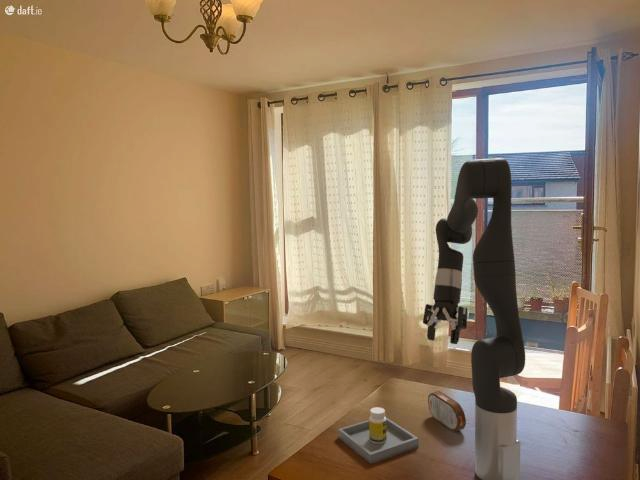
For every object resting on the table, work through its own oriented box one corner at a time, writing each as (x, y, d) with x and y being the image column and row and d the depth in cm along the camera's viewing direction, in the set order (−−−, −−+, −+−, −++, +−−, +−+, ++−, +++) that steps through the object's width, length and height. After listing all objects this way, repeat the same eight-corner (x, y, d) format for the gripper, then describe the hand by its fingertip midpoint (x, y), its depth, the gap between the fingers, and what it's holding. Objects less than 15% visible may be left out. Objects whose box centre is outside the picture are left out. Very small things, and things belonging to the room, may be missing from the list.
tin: (466, 434, 132) (466, 405, 132) (457, 437, 131) (457, 407, 130) (434, 412, 146) (434, 386, 146) (426, 414, 145) (426, 388, 144)
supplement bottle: (386, 445, 127) (385, 414, 126) (368, 443, 128) (367, 413, 127) (387, 436, 131) (386, 407, 131) (370, 434, 132) (369, 405, 132)
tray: (418, 447, 126) (418, 438, 126) (370, 464, 119) (370, 454, 119) (383, 423, 140) (383, 415, 140) (338, 437, 133) (338, 429, 132)
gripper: (421, 283, 142) (414, 337, 139) (458, 284, 130) (452, 343, 127) (438, 287, 146) (432, 340, 143) (476, 288, 134) (470, 346, 131)
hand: (442, 342), depth 135 cm, fingers open, 8 cm apart
